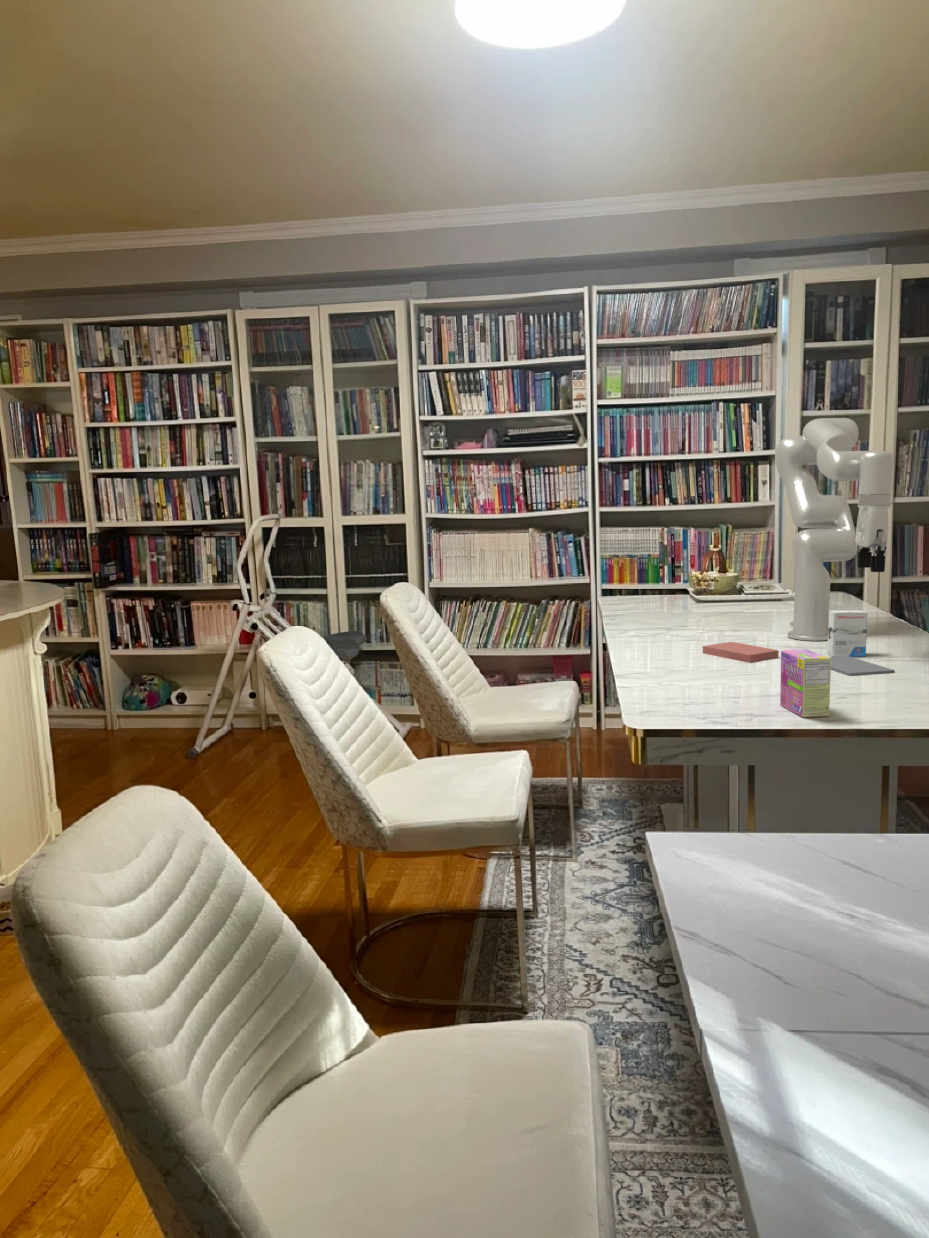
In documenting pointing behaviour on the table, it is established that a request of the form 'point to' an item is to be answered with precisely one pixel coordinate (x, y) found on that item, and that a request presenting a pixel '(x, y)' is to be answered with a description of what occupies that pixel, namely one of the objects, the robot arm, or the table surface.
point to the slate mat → (856, 666)
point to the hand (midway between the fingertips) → (870, 569)
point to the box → (805, 682)
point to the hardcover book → (740, 652)
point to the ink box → (847, 633)
